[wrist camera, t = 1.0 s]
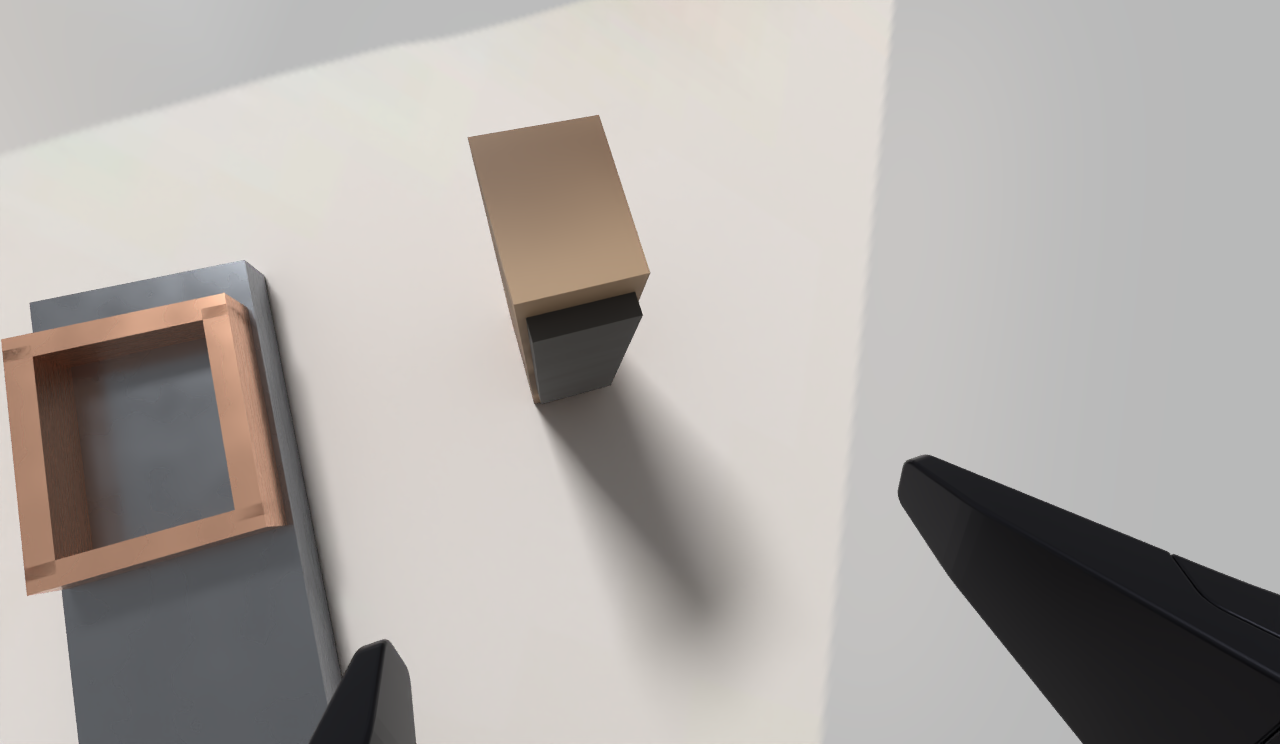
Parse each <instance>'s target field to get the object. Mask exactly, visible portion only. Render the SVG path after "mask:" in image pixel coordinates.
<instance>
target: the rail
mask: <svg viewBox="0 0 1280 744" xmlns="http://www.w3.org/2000/svg"><path fill="white" fill-rule="evenodd" d="M30 311H31V320H32V329H33V333H30V334H25V335H21V336H16V337H11V338H6V339H2V340H1V342H2V352H3V362H4V372H5V382H6V392H7V402H8V412H9V422H10V431H11V441H12V451H13V461H14V471H15V481H16V491H17V501H18V511H19V521H20V531H21V540H22V550H23V560H24V570H25V580H26V590H27V596H29V595H35V594H41V593H46V592H52V591H58V590H62V597H63V606H64V615H65V624H66V633H67V642H68V651H69V660H70V669H71V678H72V687H73V696H74V705H75V714H76V722H77V731H78V740H79V744H308V743H309V741H310V739H311V737H312V735H313V733H314V731H315V729H316V727H317V725H318V723H319V721H320V719H321V718H322V716H323V714H324V712H325V710H326V708H327V706H328V704H329V702H330V700H331V698H332V696H333V695H334V693H335V691H336V689H337V687H338V685H339V683H340V681H341V679H342V677H341V672H340V667H339V661H338V656H337V651H336V646H335V641H334V636H333V630H332V625H331V620H330V615H329V610H328V604H327V599H326V594H325V589H324V584H323V578H322V573H321V568H320V563H319V558H318V552H317V547H316V542H315V537H314V532H313V527H312V521H311V516H310V511H309V506H308V501H307V495H306V490H305V485H304V480H303V475H302V469H301V464H300V459H299V454H298V449H297V443H296V438H295V433H294V428H293V423H292V418H291V412H290V407H289V402H288V397H287V392H286V386H285V381H284V376H283V371H282V366H281V360H280V355H279V350H278V345H277V340H276V334H275V329H274V324H273V319H272V314H271V309H270V303H269V298H268V293H267V288H266V283H265V277H264V275H263V274H262V273H260V272H259V271H258V270H257V269H255V268H254V267H253V266H251V265H250V264H249V263H248V262H246V261H245V260H242V261H237V262H232V263H227V264H222V265H217V266H212V267H207V268H202V269H197V270H192V271H187V272H182V273H177V274H172V275H167V276H162V277H157V278H152V279H147V280H142V281H137V282H132V283H127V284H122V285H117V286H112V287H107V288H102V289H96V290H91V291H86V292H81V293H76V294H71V295H66V296H61V297H56V298H51V299H46V300H41V301H36V302H31V303H30Z"/></svg>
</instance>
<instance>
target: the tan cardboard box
mask: <svg viewBox="0 0 1280 744" xmlns="http://www.w3.org/2000/svg"><path fill="white" fill-rule="evenodd" d="M468 141H469V145H470V149H471V153H472V158H473V162H474V166H475V170H476V174H477V178H478V183H479V187H480V191H481V195H482V199H483V204H484V208H485V212H486V216H487V220H488V225H489V229H490V233H491V237H492V241H493V245H494V250H495V254H496V258H497V262H498V266H499V271H500V275H501V279H502V283H503V287H504V292H505V296H506V300H507V304H508V308H509V312H510V316H511V320H512V324H513V327H514V331H515V335H516V338H517V342H518V346H519V349H520V353H521V357H522V360H523V364H524V368H525V371H526V375H527V379H528V382H529V386H530V390H531V393H532V397H533V401H534V404H536V403H540V402H541V404H543V403H547V402H551V401H554V400H558V399H562V398H565V397H569V396H573V395H576V394H580V393H584V392H587V391H591V390H595V389H598V388H602V387H606V386H609V385H611V383H612V381H613V379H614V376H615V374H616V372H617V370H618V368H619V366H620V363H621V361H622V359H623V357H624V355H625V353H626V350H627V348H628V346H629V344H630V342H631V340H632V337H633V335H634V333H635V331H636V329H637V327H638V324H639V322H640V320H641V318H642V316H643V314H642V311H641V308H640V305H639V302H638V301H639V299H640V296H641V294H642V292H643V289H644V287H645V284H646V282H647V279H648V277H649V274H650V271H649V268H648V265H647V262H646V258H645V255H644V252H643V249H642V246H641V243H640V240H639V237H638V234H637V231H636V228H635V225H634V222H633V218H632V215H631V212H630V209H629V206H628V203H627V200H626V197H625V194H624V191H623V188H622V185H621V181H620V178H619V175H618V172H617V169H616V166H615V163H614V160H613V157H612V154H611V151H610V148H609V145H608V141H607V138H606V135H605V132H604V129H603V126H602V123H601V120H600V117H599V115H595V116H590V117H584V118H578V119H572V120H566V121H560V122H555V123H549V124H543V125H537V126H531V127H525V128H520V129H514V130H508V131H502V132H496V133H490V134H485V135H479V136H473V137H468Z"/></svg>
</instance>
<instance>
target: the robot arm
mask: <svg viewBox="0 0 1280 744" xmlns="http://www.w3.org/2000/svg"><path fill="white" fill-rule="evenodd" d="M898 497H899V500H900V503H901V505H902V507H903V508H904V510H905V511H906V513H907V514H908V516H909V517H910V518H911V520H912V522H913V523H914V525H915V526H916V528H917V529H918V531H919V532H920V534H921V535H922V537H923V538H924V540H925V542H926V543H927V545H928V546H929V548H930V549H931V551H932V552H933V554H934V555H935V557H936V558H937V560H938V561H939V563H940V564H941V566H942V567H943V569H944V570H945V572H946V573H947V574H948V576H949V577H950V579H951V580H952V581H953V582H954V584H955V585H956V586H957V588H958V589H959V590H960V591H961V592H962V594H963V595H964V596H965V598H966V599H967V600H968V601H969V602H970V604H971V605H972V606H973V608H974V609H975V610H976V611H977V613H978V614H979V615H980V616H981V618H982V619H983V620H984V621H985V623H986V624H987V625H988V626H989V627H990V629H991V630H992V631H993V633H994V634H995V635H996V636H997V638H998V639H999V640H1000V641H1001V642H1002V644H1003V645H1004V646H1005V647H1006V648H1007V650H1008V651H1009V652H1010V654H1011V655H1012V656H1013V657H1014V658H1015V660H1016V661H1017V662H1018V664H1019V665H1020V666H1021V667H1022V669H1023V670H1024V671H1025V672H1026V674H1027V675H1028V676H1029V677H1030V679H1031V680H1032V681H1033V682H1034V684H1035V685H1036V686H1037V687H1038V688H1039V690H1040V691H1041V692H1042V693H1043V695H1044V696H1045V697H1046V698H1047V700H1048V701H1049V702H1050V703H1051V705H1052V706H1053V707H1054V708H1055V710H1056V711H1057V712H1058V713H1059V715H1060V716H1061V717H1062V718H1063V720H1064V721H1065V722H1066V723H1067V725H1068V726H1069V727H1070V728H1071V730H1072V731H1073V732H1074V733H1075V734H1076V736H1077V737H1078V738H1079V739H1080V741H1081V742H1082V743H1083V744H1280V595H1279V594H1276V593H1273V592H1271V591H1268V590H1265V589H1262V588H1259V587H1257V586H1254V585H1251V584H1248V583H1246V582H1243V581H1241V580H1238V579H1236V578H1233V577H1230V576H1228V575H1225V574H1223V573H1220V572H1217V571H1215V570H1213V569H1210V568H1207V567H1205V566H1202V565H1200V564H1197V563H1195V562H1193V561H1190V560H1188V559H1185V558H1183V557H1180V556H1178V555H1175V554H1173V555H1170V553H1169V552H1167V551H1165V550H1163V549H1160V548H1158V547H1155V546H1153V545H1150V544H1148V543H1145V542H1143V541H1140V540H1138V539H1135V538H1133V537H1131V536H1128V535H1126V534H1123V533H1121V532H1118V531H1116V530H1113V529H1111V528H1108V527H1106V526H1103V525H1101V524H1099V523H1096V522H1094V521H1091V520H1089V519H1086V518H1084V517H1081V516H1079V515H1076V514H1074V513H1072V512H1069V511H1066V510H1064V509H1062V508H1059V507H1057V506H1054V505H1052V504H1049V503H1047V502H1044V501H1042V500H1039V499H1037V498H1035V497H1032V496H1029V495H1027V494H1025V493H1022V492H1020V491H1017V490H1015V489H1012V488H1010V487H1007V486H1005V485H1003V484H1000V483H998V482H995V481H993V480H990V479H988V478H985V477H983V476H980V475H978V474H975V473H973V472H971V471H968V470H966V469H963V468H961V467H958V466H956V465H953V464H951V463H948V462H946V461H944V460H941V459H938V458H936V457H934V456H930V455H921V456H918V457H915V458H912V459H909V460H907V461H906V462H905V463H904V465H903V468H902V473H901V478H900V482H899V487H898ZM308 744H416V737H415V726H414V715H413V704H412V693H411V682H410V676H409V672H408V669H407V667H406V665H405V663H404V662H403V660H402V659H401V657H400V656H399V654H398V653H397V651H396V649H395V648H394V646H393V645H392V643H391V642H390V641H389V640H386V639H383V640H380V641H377V642H374V643H371V644H368V645H365V646H363V647H361V648H359V649H358V650H357V652H356V653H355V654H354V656H353V658H352V660H351V662H350V664H349V666H348V668H347V670H346V671H345V673H344V675H343V677H342V679H341V681H340V683H339V685H338V687H337V689H336V691H335V693H334V695H333V696H332V698H331V700H330V702H329V704H328V706H327V708H326V710H325V712H324V714H323V716H322V718H321V719H320V721H319V723H318V725H317V727H316V729H315V731H314V733H313V735H312V737H311V739H310V741H309V743H308Z"/></svg>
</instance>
